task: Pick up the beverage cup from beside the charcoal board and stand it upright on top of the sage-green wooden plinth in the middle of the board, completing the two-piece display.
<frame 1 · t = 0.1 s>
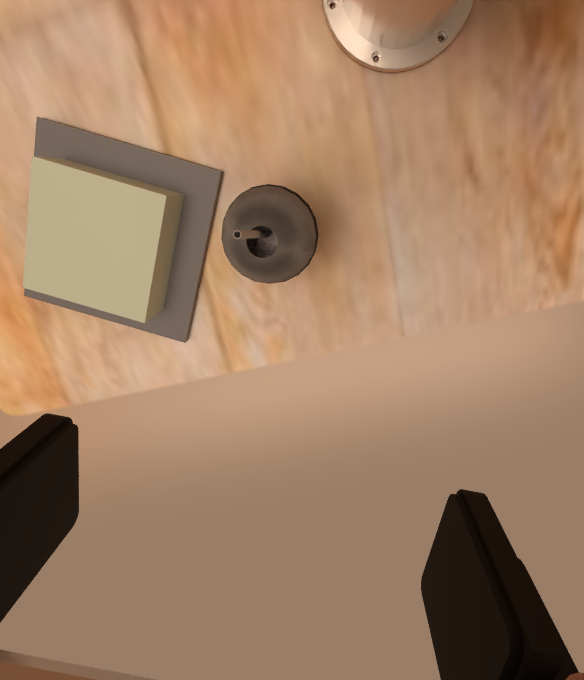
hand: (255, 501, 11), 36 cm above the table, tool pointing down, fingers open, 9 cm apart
beverage cup: (285, 222, 45), on the table
plinth: (120, 236, 46), on the table
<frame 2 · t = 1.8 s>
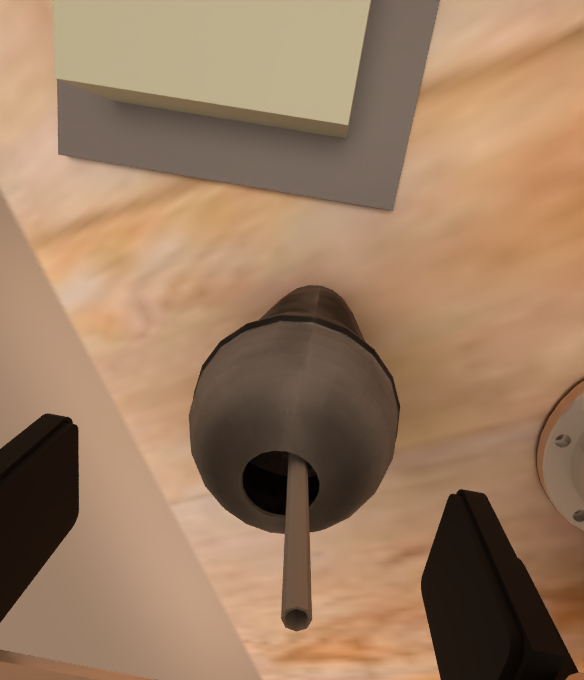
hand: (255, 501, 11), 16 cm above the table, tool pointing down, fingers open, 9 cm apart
beverage cup: (313, 321, 27), on the table
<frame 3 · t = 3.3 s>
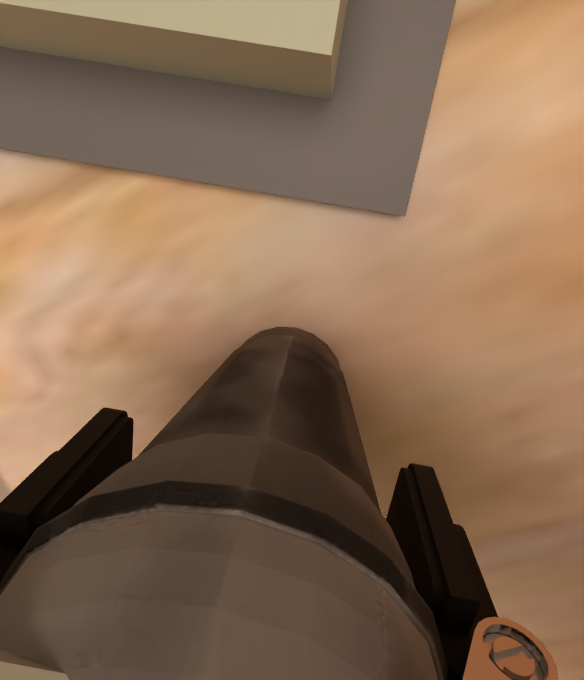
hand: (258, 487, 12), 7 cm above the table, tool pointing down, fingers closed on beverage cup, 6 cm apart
beverage cup: (285, 378, 18), on the table, touching gripper
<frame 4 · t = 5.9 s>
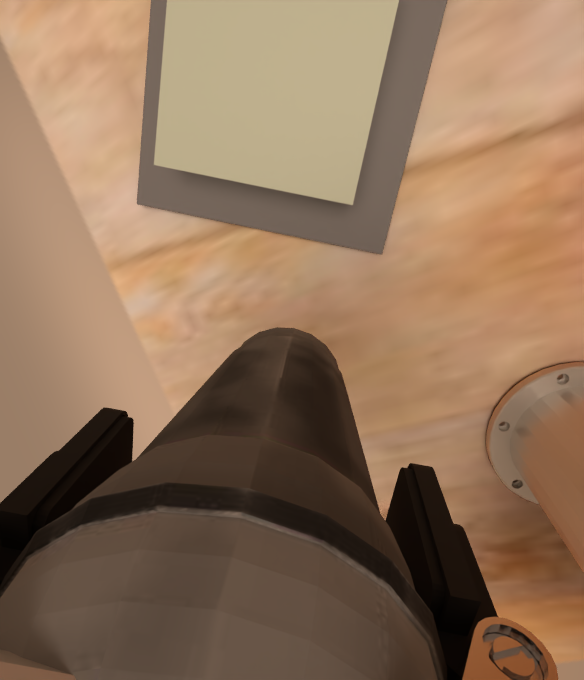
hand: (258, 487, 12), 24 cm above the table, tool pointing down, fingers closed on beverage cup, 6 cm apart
beverage cup: (284, 378, 18), point 17 cm above the table, touching gripper
plinth: (282, 92, 30), on the table
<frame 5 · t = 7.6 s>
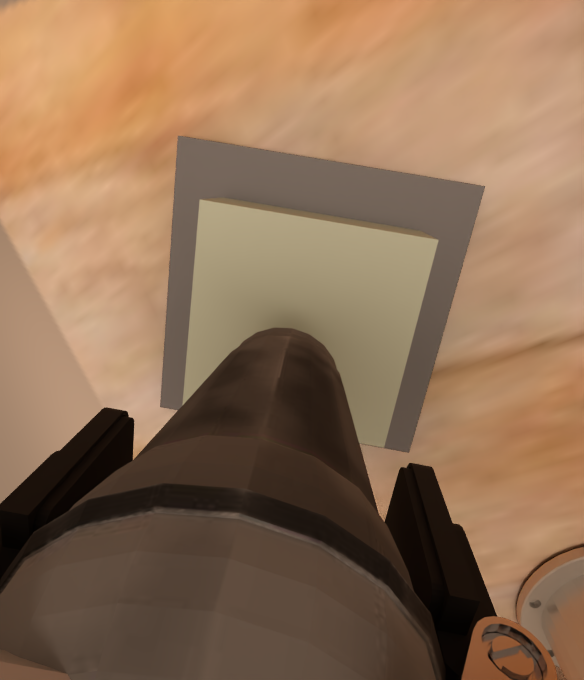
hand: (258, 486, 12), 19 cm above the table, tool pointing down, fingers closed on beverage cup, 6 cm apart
beverage cup: (282, 378, 18), point 12 cm above the table, touching gripper
plinth: (305, 305, 30), on the table
when the fingers open (15 cm above the table, at t = 9.0 s): beverage cup drops 2 cm, resting on plinth.
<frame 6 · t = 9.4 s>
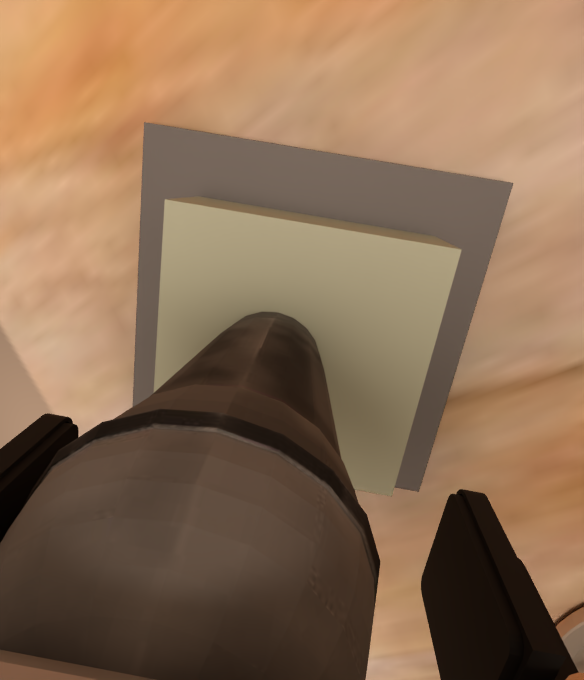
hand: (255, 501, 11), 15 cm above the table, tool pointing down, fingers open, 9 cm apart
beverage cup: (269, 358, 20), point 6 cm above the table, touching gripper, plinth
plinth: (298, 322, 25), on the table
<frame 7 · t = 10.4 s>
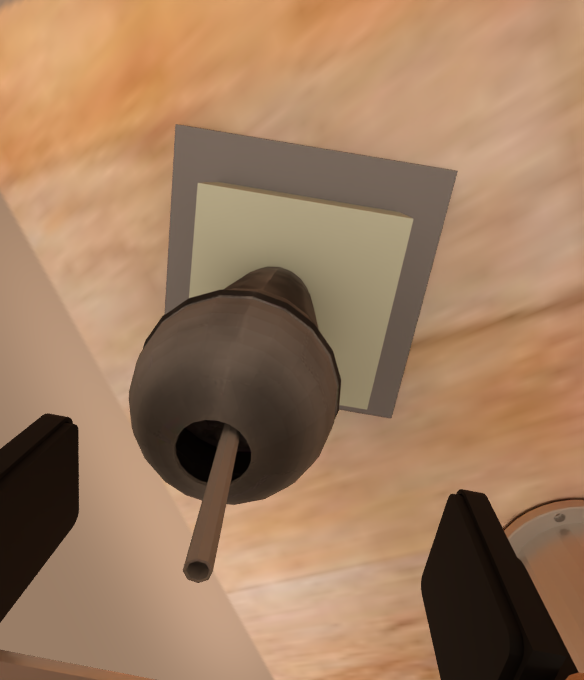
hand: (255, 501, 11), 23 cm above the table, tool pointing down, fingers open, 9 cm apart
beverage cup: (273, 302, 27), point 6 cm above the table, touching plinth
plinth: (294, 282, 32), on the table
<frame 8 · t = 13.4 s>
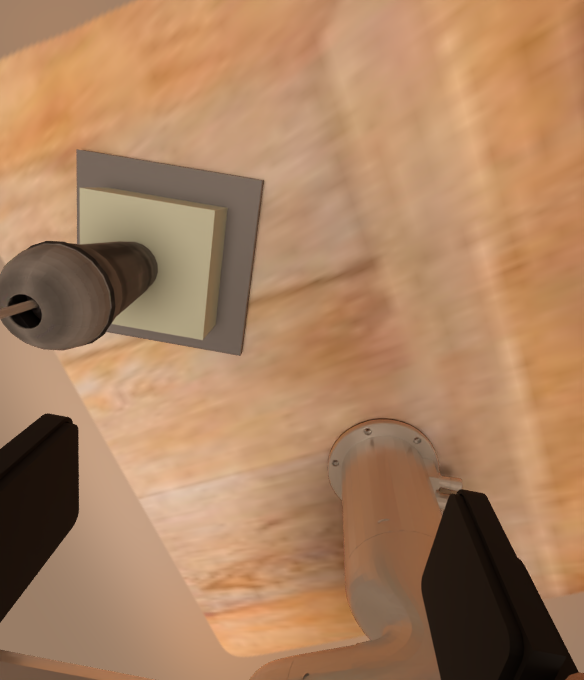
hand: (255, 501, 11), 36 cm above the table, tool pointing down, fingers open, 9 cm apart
beverage cup: (134, 266, 41), point 6 cm above the table, touching plinth
plinth: (166, 257, 46), on the table
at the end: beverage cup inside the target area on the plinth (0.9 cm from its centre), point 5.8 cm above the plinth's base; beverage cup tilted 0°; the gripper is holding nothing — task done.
